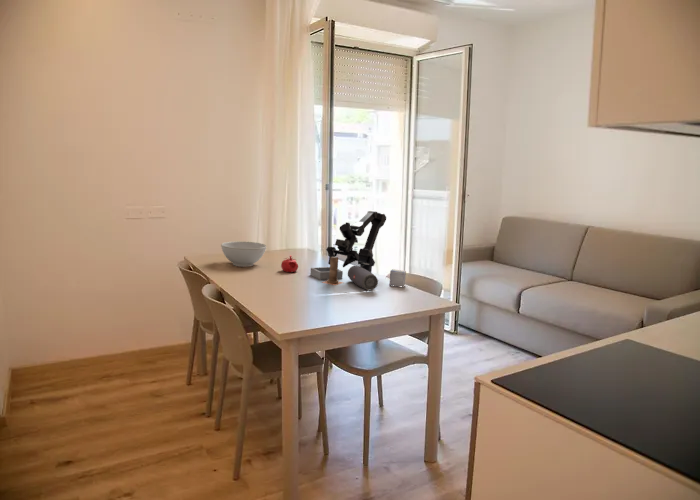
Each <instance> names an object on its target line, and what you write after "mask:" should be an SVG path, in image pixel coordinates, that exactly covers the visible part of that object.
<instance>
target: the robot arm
mask: <svg viewBox="0 0 700 500" xmlns="http://www.w3.org/2000/svg"><path fill="white" fill-rule="evenodd" d="M386 221H387V216H386V214H385V213H381V212H378V211H375V210H368V211H367V213H365V215H364V216H363V217H362V218H361V219H360V220H359V221H358V222H355V223H353V224H351V223H350V222H345V223H343V224H342V225H340V226H339V231H340V233H341V235H342V237H343V238H344V240H343V239H339V238H337V239H335V243H334V245H335V246H337V249H336V247H335V246H330V245H329V246H327V248H326V249H325V250H326V252H327V254H328V255H329V256H328V262H327V263H328V265H329V266H330V257H338V255H342V256H345V257H346V259H345V260H344V262H343V264H342V268H345V267H346V266H348V265H350V264H352V263H355V262H357V265H359V267H362V268H364V269H366V270H368V271H369V272H371V273H372V269H373V267H375V264H376V262H375V260H374V258H373V257H374V254H373V249H374V245H375V243H376V239H377V237H378V234H379V231H380V229H381V228H382V227H383V226H384V224H385V223H386ZM370 223H371V227H370V229H369V233H368V236H367V238H366V241H365V245H364V247H363V248H360V249H359V251H357V250H354V248H353V247H354V245H355V243H357V244H358V242H359V241H358V237H361V236H362V235H363V234H364V233H365V229H366V227H367V226H368V225H370Z"/></svg>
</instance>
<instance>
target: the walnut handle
mask: <svg viewBox="0 0 700 500" xmlns="http://www.w3.org/2000/svg"><path fill="white" fill-rule="evenodd" d="M329 267H330V274H329V279H327V280H326V281H327V283H330V284H329V285H331V284H337V283H338V282H340V279H337V272H338V268H339V257H338V256H335V257H330V265H329Z"/></svg>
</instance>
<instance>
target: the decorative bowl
mask: <svg viewBox="0 0 700 500" xmlns="http://www.w3.org/2000/svg"><path fill="white" fill-rule="evenodd" d="M220 247H221V251H222V253H223V254H224V257H225V258H226V259H227V260H228V261H229V262H231V263H232V265H233V266H235V267H242V268H243V267H244V268H245V267H246V268H247V267H253V266H254V265H255V263H257V262H259V261H260V259H261V258H262V257H263V256H264V254H265V253H266V249H267V245H266V244H264V243H260V242H254V241H226V242H222V243H221V244H220Z"/></svg>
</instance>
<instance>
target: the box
mask: <svg viewBox="0 0 700 500" xmlns="http://www.w3.org/2000/svg"><path fill="white" fill-rule="evenodd" d="M309 273H310V275H309V276H311V277H313V278H316V279H318V280H320V281H321V280H322V281H327V280H328V279H329V274H330V266H324V267H323V266H320V267H310V272H309ZM341 279H343V270H342V269H340V268H339V269H338V272H337V280H341Z"/></svg>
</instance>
